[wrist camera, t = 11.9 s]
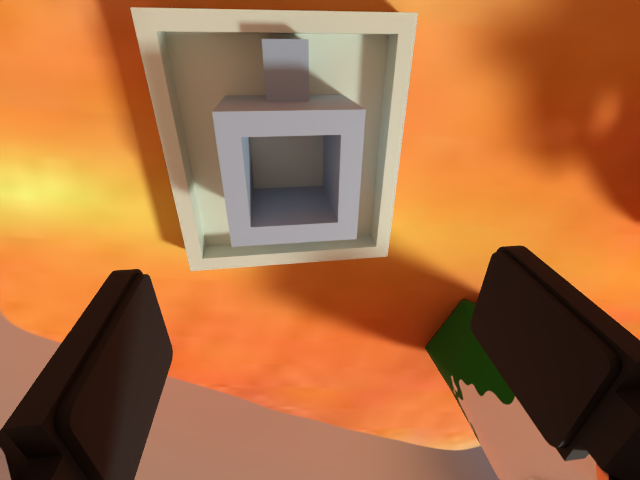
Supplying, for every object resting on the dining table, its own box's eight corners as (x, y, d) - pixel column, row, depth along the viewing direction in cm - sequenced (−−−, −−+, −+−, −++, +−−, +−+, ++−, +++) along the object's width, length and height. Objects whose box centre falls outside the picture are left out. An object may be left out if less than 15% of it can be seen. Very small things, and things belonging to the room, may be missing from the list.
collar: (338, 199, 25) (356, 239, 20) (238, 204, 25) (231, 247, 19) (344, 40, 20) (370, 38, 15) (218, 39, 19) (201, 36, 14)
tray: (402, 16, 21) (418, 12, 18) (378, 241, 29) (387, 256, 26) (145, 11, 19) (130, 7, 17) (196, 253, 27) (190, 271, 25)
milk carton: (524, 309, 35) (766, 556, 18) (473, 366, 39) (635, 616, 22) (460, 289, 33) (675, 557, 16) (412, 352, 36) (542, 625, 19)
